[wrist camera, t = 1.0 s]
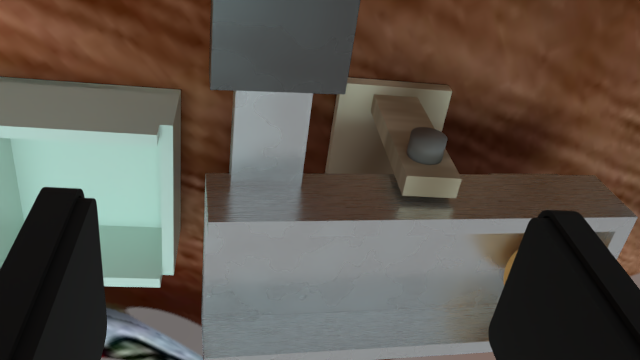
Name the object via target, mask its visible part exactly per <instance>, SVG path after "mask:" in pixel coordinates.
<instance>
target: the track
mask: <svg viewBox="0 0 640 360" xmlns="http://www.w3.org/2000/svg"><path fill="white" fill-rule="evenodd" d="M359 5H360V0H211V17H210V52H209V80H210V90H233V108H232V127H231V147H230V166H229V173H205V208H204V244H203V280H202V343H203V360H377V359H392V358H407V357H423V356H438V355H453V354H469V353H484V352H493V351H492V349H491V346H490V343H489V338H488V330H489V325H490V322H491V319H492V317H493V314H494V311H495V309H496V306H497V304H498V301H499V298H500V296H501V293H502V290H503V288H504V271H505V267H506V265H507V262H508V260H509V259H510V257H511V256H512V255H513V254H514V253H515V252H516V251H517V250H518V249H519V246H520V243H521V241H522V238H523V235H524V233H525V230H526V228H527V225H528V223H529V221H530V220H531V219H532V218H535V217H536V218H537V217H538V215H539V214H540V213H541V212H542V211H544V210H562V211H576V212H579V213H580V214H581V215H582V216H583V217H584V219H585V220H586V221H587V223H588V224H589V225H590V226H591V228H592V229H593V230H594V231H595V233H596V234H597V235H598V237H599V238H600V239H601V240H602V242H603V243H604V244H605V246H606V247H607V248H608V249H609V251H610V252H611V253H612V255H613V256H614V257H615V258H616V260H617V258H618V256H619V254H620V252H621V250H622V248H623V246H624V244H625V242H626V240H627V238H628V236H629V234H630V232H631V230H632V228H633V226H634V224H635V222H636V220H637V218H638V217H637V216H636V215H635V214H634V213H633V212H632V211H631V210H630V209H629V208H628V207H627V206H626V205H625V204H624V203H623V202H622V201H621V200H620V199H619V198H618V197H617V196H615V195H614V194H613V193H612V192H611V191H610V190H609V189H608V188H607V187H606V186H605V185H604V184H603V183H602V182H601V181H600V180H599V179H598V178H597V177H596V176H595V175H558V174H488V175H472V174H460V176H461V178H462V180H461V184H460V187H459V190H458V194H457V197H456V198H439V197H419V196H402V194H401V191H400V188H399V186H398V183H397V180H396V178H395V175H394V174H303V168H304V160H305V153H306V145H307V137H308V129H309V121H310V114H311V106H312V98H313V93H317V94H345V93H346V86H347V80H348V74H349V67H350V61H351V55H352V49H353V42H354V36H355V30H356V24H357V17H358V11H359Z"/></svg>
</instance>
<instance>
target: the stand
mask: <svg viewBox="0 0 640 360" xmlns="http://www.w3.org/2000/svg"><path fill="white" fill-rule="evenodd" d="M451 94H452V90H451V89H450V87H449V86H448V85H440V84H427V83H414V82H402V81H389V80H376V79H363V78H350V77H348V80H347V86H346V93H345V94H337V97H336V103H335V110H334V117H333V123H332V130H331V136H330V143H329V150H328V156H327V163H326V169H325V174H394V175H395V178H396V180H397V183H398V186H399V188H400V191H401V194H402V196H419V197H439V198H456V197H457V194H458V190H459V187H460V184H461V180H462V178H461V176H460V174H459V173H458V171H457V169H456V167H455V165H454V163H453V161H452V160H451V158H450V156H449V154H448V152H447V150H446V149H445V147H446V143H447V136H446V135H445V134H444V133H442V129H443V125H444V121H445V117H446V113H447V110H448V106H449V102H450V98H451Z"/></svg>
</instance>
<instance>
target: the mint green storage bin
mask: <svg viewBox="0 0 640 360" xmlns="http://www.w3.org/2000/svg"><path fill="white" fill-rule="evenodd" d="M44 187H57V188H79V189H82V190H83V193H84V197H85V198H94V199H95V200H96V203H97V212H98V223H99V235H100V246H101V258H102V269H103V281H104V286H119V287H160V286H161V280H162V275H174V270H175V263H176V257H177V250H178V244H179V237H180V230H181V90H179V89H165V88H151V87H137V86H123V85H109V84H95V83H81V82H67V81H53V80H39V79H25V78H11V77H0V269H1V267H2V265H3V263H4V261H5V259H6V257H7V255H8V253H9V251H10V249H11V247H12V245H13V243H14V241H15V239H16V237H17V235H18V233H19V231H20V229H21V227H22V225H23V224H24V222H25V220H26V218H27V216H28V214H29V212H30V210H31V208H32V206H33V204H34V202H35V200H36V198H37V196H38V194H39V192H40V191H41V189H42V188H44Z"/></svg>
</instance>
